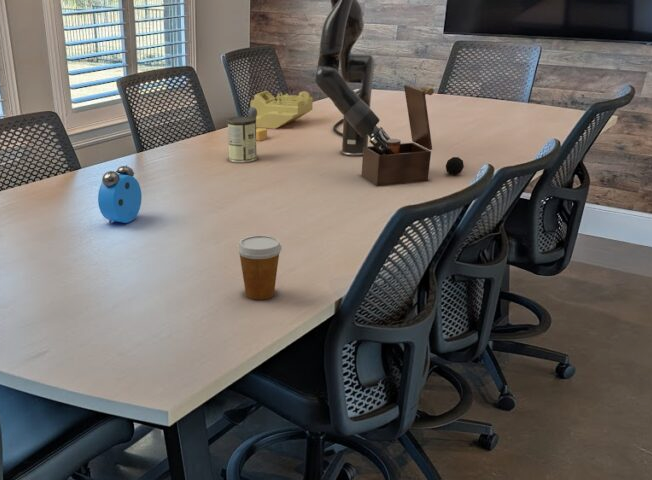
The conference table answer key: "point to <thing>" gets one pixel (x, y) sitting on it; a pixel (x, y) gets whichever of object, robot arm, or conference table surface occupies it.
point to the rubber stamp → (260, 132)
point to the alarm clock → (119, 195)
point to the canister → (394, 145)
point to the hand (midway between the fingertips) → (396, 157)
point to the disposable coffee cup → (259, 265)
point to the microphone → (454, 166)
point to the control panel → (280, 108)
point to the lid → (418, 114)
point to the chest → (396, 165)
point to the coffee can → (242, 139)
